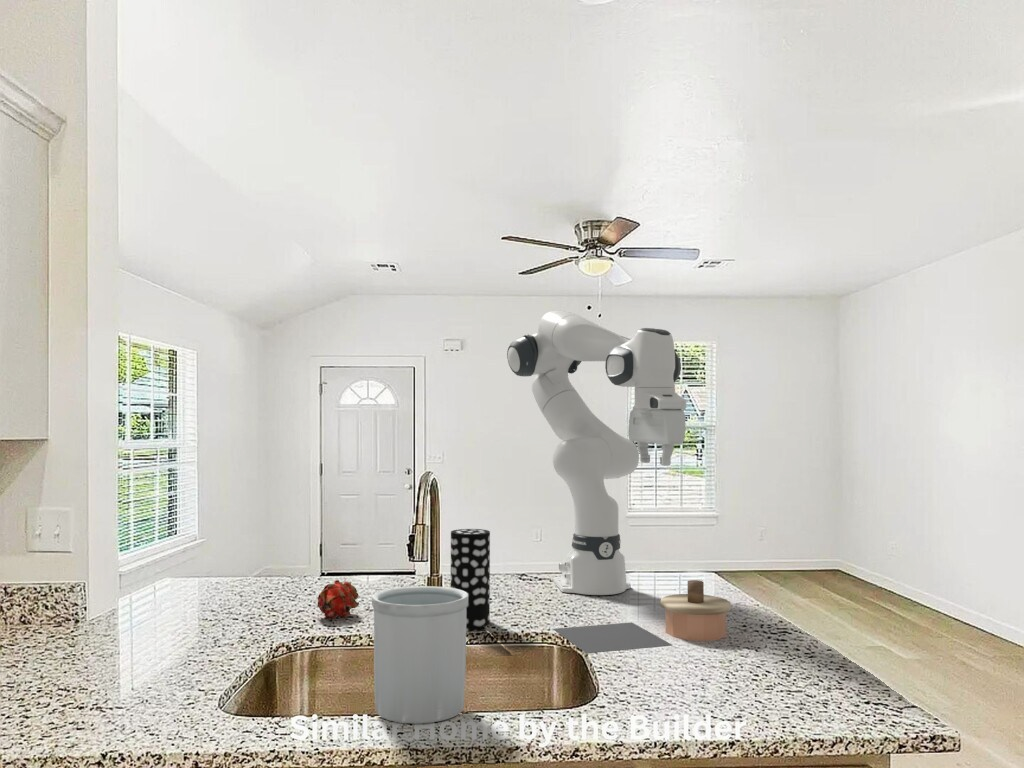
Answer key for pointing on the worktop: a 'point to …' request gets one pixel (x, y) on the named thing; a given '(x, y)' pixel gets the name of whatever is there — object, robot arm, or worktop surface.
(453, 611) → the utensil holder
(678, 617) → the bowl
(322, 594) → the dragon fruit
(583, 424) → the robot arm
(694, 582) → the lid
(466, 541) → the white-spotted black cylinder
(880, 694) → the worktop surface
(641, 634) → the mat
